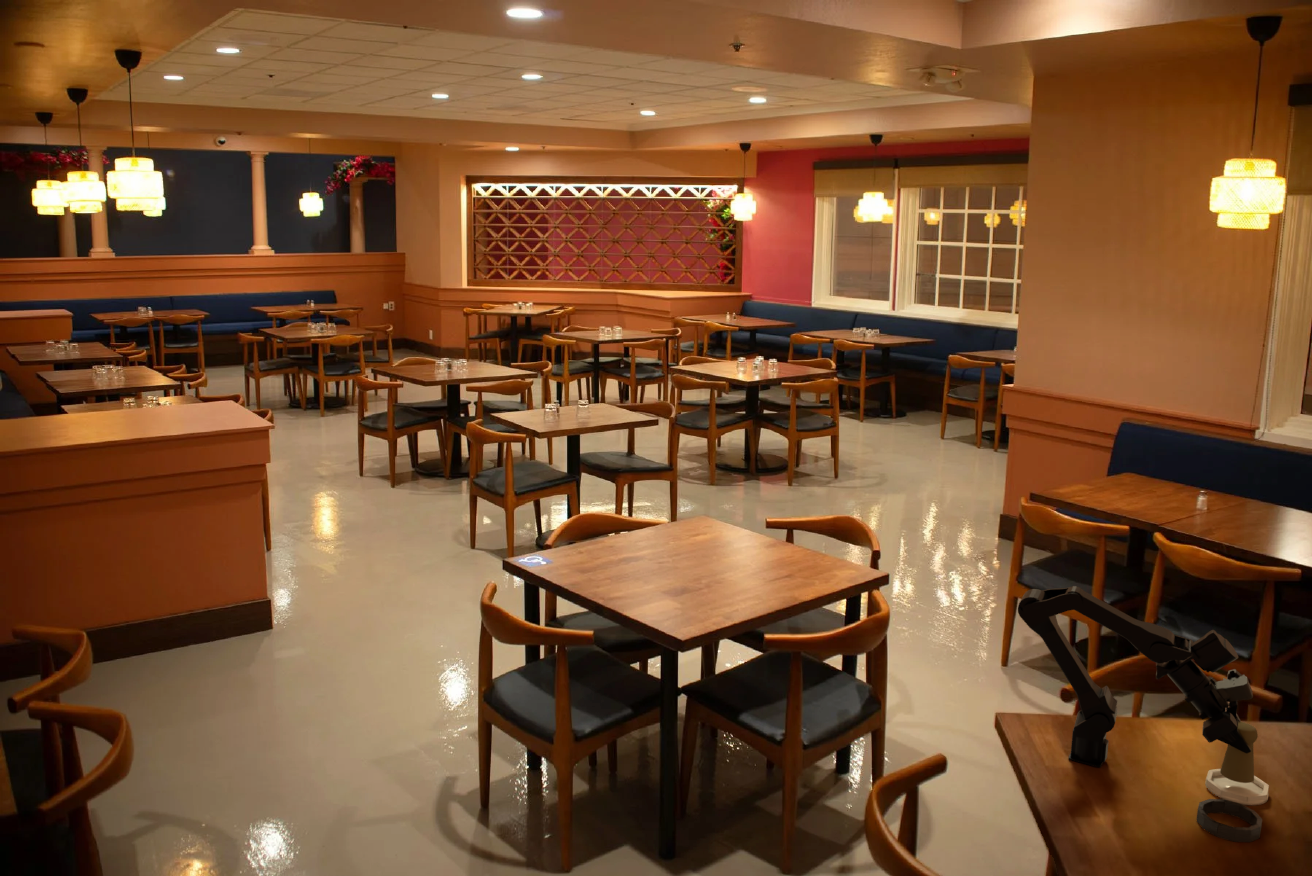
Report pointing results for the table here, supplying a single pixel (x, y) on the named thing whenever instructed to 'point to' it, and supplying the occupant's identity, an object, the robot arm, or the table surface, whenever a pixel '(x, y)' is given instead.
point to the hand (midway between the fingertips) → (1248, 746)
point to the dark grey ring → (1225, 830)
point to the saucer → (1237, 789)
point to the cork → (1240, 757)
